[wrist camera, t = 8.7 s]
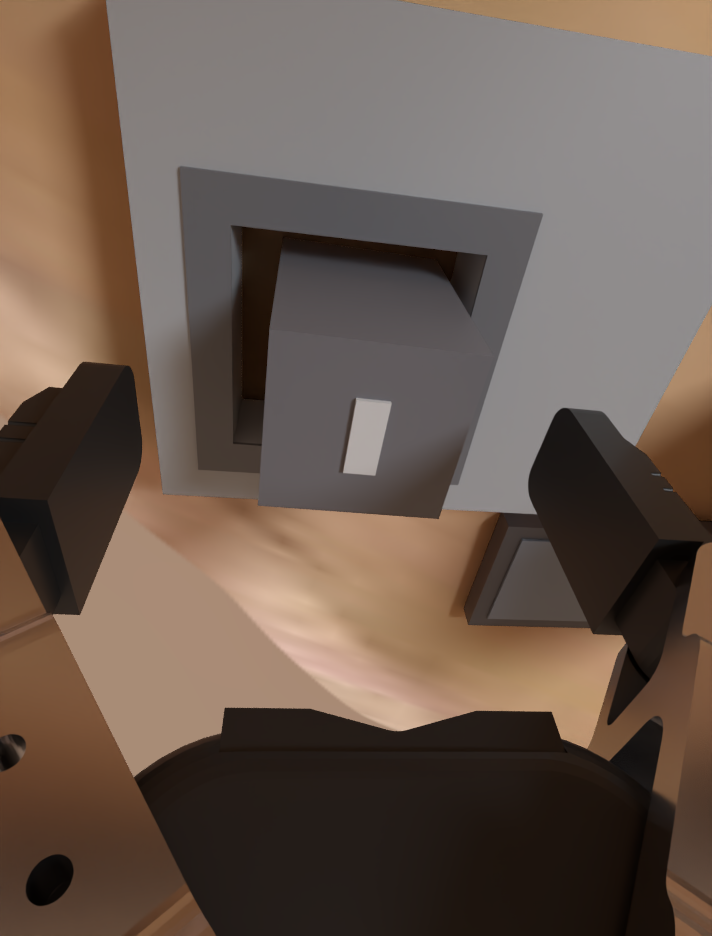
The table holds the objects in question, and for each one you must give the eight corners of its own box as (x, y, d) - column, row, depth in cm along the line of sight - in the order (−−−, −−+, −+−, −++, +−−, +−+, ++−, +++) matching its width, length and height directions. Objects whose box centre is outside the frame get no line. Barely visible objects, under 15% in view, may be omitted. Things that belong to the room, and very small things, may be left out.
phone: (463, 608, 24) (468, 627, 24) (502, 510, 21) (509, 528, 20) (702, 615, 26) (715, 633, 25) (777, 525, 22) (794, 542, 22)
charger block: (283, 236, 14) (268, 330, 9) (435, 259, 15) (495, 358, 10) (272, 377, 17) (257, 508, 12) (404, 391, 17) (439, 521, 13)
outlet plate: (136, -35, 11) (98, -53, 9) (756, 73, 13) (838, 78, 11) (178, 447, 18) (162, 496, 16) (569, 473, 20) (597, 519, 18)
